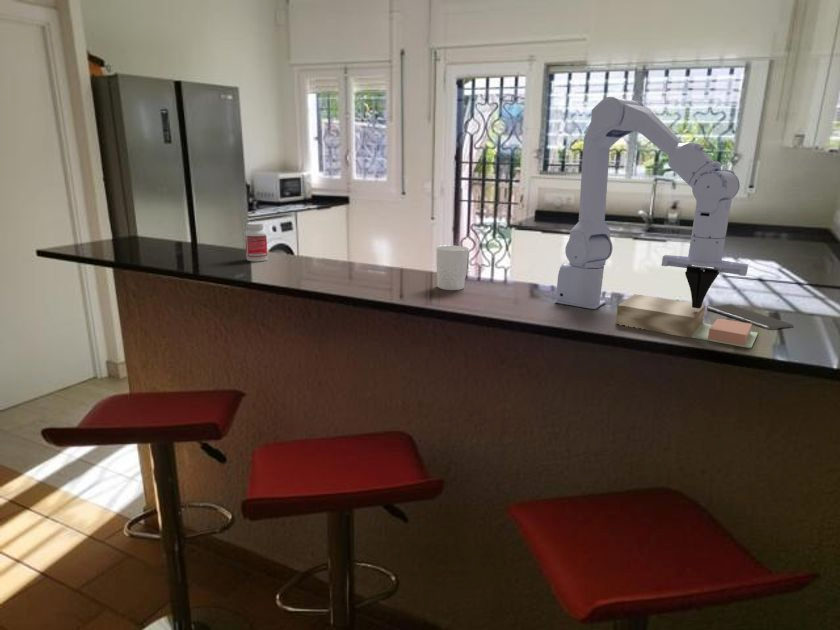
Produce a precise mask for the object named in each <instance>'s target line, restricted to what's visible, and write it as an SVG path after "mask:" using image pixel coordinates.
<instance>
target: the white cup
mask: <svg viewBox="0 0 840 630" xmlns="http://www.w3.org/2000/svg"><path fill="white" fill-rule="evenodd" d="M435 250H436V251H435V252H436V257H435V258H436V277H437V280H436V281H437V285H436V287H437V288H438V289H440V290H445V291H460V290H463V289H465V281H466V274H467V266H468V258H469V254H468V253H469V248H468V247H466V246H462V245H439V246H436V248H435Z"/></svg>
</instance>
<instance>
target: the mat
mask: <svg viewBox="0 0 840 630" xmlns="http://www.w3.org/2000/svg"><path fill="white" fill-rule="evenodd" d="M712 325H713V324H709V323H704V322H702V324H701V325H700V326H699V327H698V328H697V330H696V331H695V332H694V333H693V334H692V336H691V338H693V339H698V340H703V341H707V342H709V341H710V342H714V343H721V344H726V345H730V346H736V347H741V348H747V349H752V347H753V346H754V344H755V340H756V339H757V337H758V335H759V332H757V331H752V330H751V333H750V336H749V337H748V339H747V341H746V343H745V345H739V344H733V343H728V342H722V341H717V340H711V339H708V334H709V329H710V327H711V326H712Z"/></svg>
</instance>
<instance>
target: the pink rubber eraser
mask: <svg viewBox="0 0 840 630" xmlns="http://www.w3.org/2000/svg"><path fill="white" fill-rule="evenodd" d="M711 325H712V326H711V327H710V329H709V334H708V339H711V340H717V341H722V342H728V343H733V344H739V345H745V343H746V341H747V339H748V337H749V336H750V333H751V331H752V328H753V327H752V326H753V325H752V324H750V323H746V322H743V321H739V320H737V321H736V320H731V319H724V318H716V320H715V321H714V322H713V323H712V324H711Z"/></svg>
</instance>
